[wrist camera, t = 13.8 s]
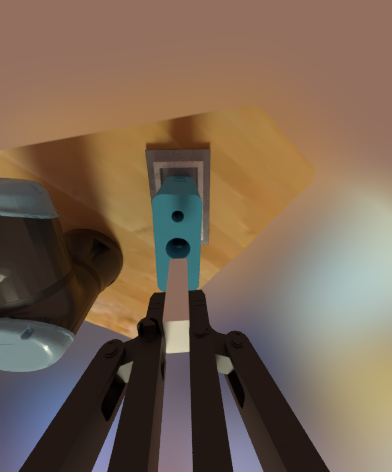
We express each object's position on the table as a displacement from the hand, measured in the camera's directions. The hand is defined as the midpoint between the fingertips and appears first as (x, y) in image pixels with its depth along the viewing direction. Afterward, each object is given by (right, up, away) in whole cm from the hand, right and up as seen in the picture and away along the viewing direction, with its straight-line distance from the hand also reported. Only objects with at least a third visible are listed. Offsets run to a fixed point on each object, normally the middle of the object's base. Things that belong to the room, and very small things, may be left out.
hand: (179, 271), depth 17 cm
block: (-2, +10, +22) cm, 24 cm away
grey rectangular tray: (-2, +11, +23) cm, 25 cm away
